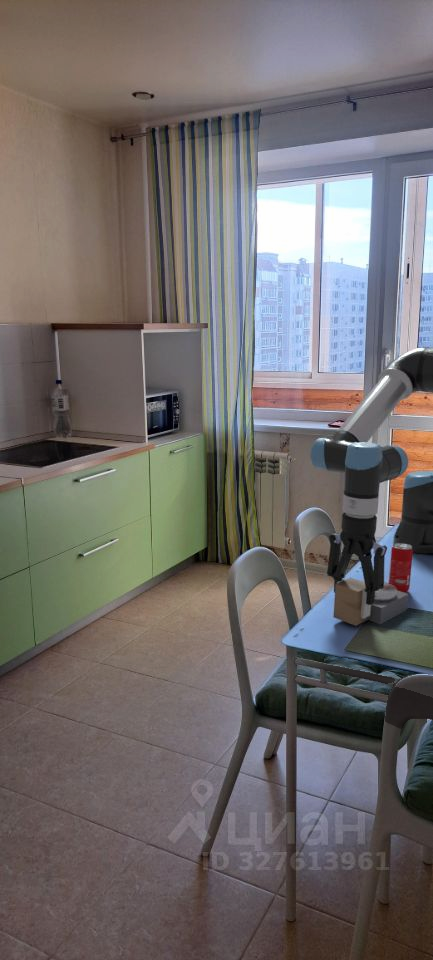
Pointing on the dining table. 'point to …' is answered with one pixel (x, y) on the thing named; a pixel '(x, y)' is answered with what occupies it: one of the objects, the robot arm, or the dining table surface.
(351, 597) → the walnut block
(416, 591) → the dining table surface
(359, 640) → the dining table surface
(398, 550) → the beverage can
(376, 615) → the scale base
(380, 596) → the scale pan
